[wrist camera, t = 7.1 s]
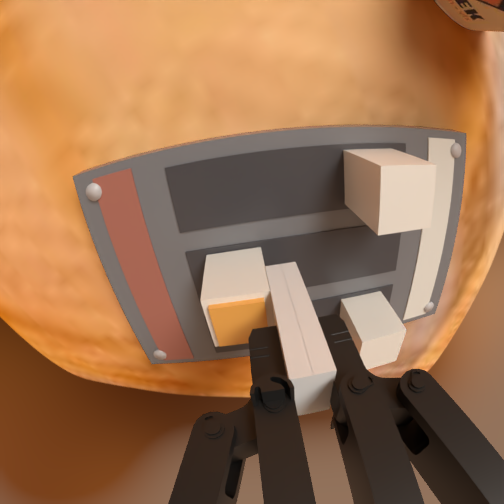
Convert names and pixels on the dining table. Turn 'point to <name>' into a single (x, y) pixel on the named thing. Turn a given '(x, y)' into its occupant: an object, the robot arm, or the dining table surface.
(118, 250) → the breaker panel
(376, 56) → the dining table surface
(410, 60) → the dining table surface
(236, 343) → the breaker toggle
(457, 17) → the coffee cup
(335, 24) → the dining table surface
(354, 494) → the robot arm
